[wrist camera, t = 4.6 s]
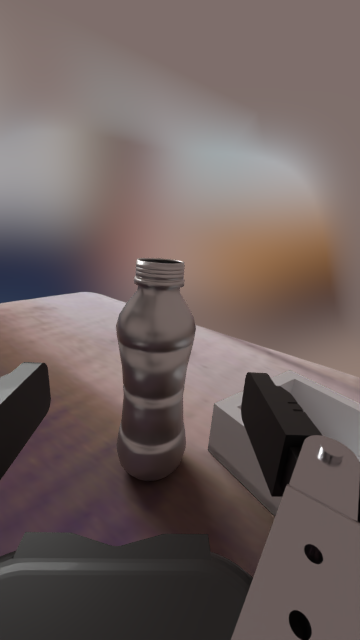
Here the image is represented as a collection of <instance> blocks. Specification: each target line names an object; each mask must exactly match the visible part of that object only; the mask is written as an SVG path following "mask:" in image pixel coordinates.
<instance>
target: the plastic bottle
mask: <svg viewBox="0 0 360 640" xmlns="http://www.w3.org/2000/svg"><path fill="white" fill-rule="evenodd" d="M184 266H185V265H184V262H182V261H178V260H171V259H160V258H139V259H137V262H136V276H135V277H134V283H135V284H136V285H138V289H137V291H136V293H135V294H134V295H133V296H132V297H131V299H130V300H129V301H128V302H127V303H126V305H125V306H124V308H123V309H122V311H121V312H120V314H119V317H118V321H117V324H116V330H117V338H118V345H119V351H120V357H121V363H122V373H123V384H124V385H123V390H124V399H123V410H122V420H121V424H120V428H119V433H118V439H117V452H118V456H119V460H120V463H121V465H122V467H123V468H124V470H126V471H127V472H128V473H129V474H130V475H132V476H133V477H135V478H137V479H140V480H144V481H155V480H159V479H162V478H164V477H166V476H168V475H169V474H171V473H172V472H173V471H174V470H175V469H176V468H177V467H178V466H179V464H180V463H181V460H182V457H183V454H184V451H185V447H186V437H185V428H184V422H183V392H184V384H185V378H186V371H187V366H188V362H189V358H190V354H191V350H192V345H193V341H194V336H195V330H196V326H195V322H194V317H193V315H192V313H191V311H190V309H189V307H188V305H187V304H186V302H185V300H184V299H183V297H182V296H181V294H180V287H183V286H184V279H183V277H184Z"/></svg>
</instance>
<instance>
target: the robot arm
mask: <svg viewBox="0 0 360 640" xmlns="http://www.w3.org/2000/svg"><path fill="white" fill-rule="evenodd" d="M50 401H51V396H50V386H49V376H48V367H47V365H46V364H45V363H32V362H24V363H22V364H21V365H20V366H18V367H17V368H16V369H15V370H14V371H13V372H11V373H10V374H7V375H5V376H3V377H1V378H0V480H1V478H2V477H3V475H4V474H5V473H6V471H7V470H8V468H9V467H10V465H11V464H12V463H13V461H14V460H15V458H16V457H17V455H18V454H19V453H20V451H21V450H22V448H23V447H24V446H25V444H26V443H27V441H28V440H29V438H30V437H31V436H32V434H33V433H34V431H35V430H36V428H37V427H38V426H39V424H40V423H41V421H42V420H43V418H44V417H45V416H46V414H47V412H48V410H49V407H50ZM241 417H242V421H243V424H244V426H245V429H246V432H247V434H248V437H249V439H250V442H251V445H252V447H253V450H254V452H255V455H256V457H257V460H258V463H259V465H260V468H261V470H262V473H263V476H264V478H265V481H266V483H267V486H268V489H269V491H270V494H271V496H272V497H282V499H281V502H280V505H279V508H278V510H277V513H276V516H275V519H274V522H273V524H272V527H271V530H270V533H269V535H268V538H267V541H266V544H265V546H264V549H263V552H262V555H261V558H260V560H259V563H258V566H257V569H256V571H255V574H254V577H253V578H252V577H251V576H250V575H249V574H248V573H247V572H245V571H244V570H243V569H242V568H241V567H239V566H238V565H236V564H235V563H233V562H232V561H230V560H229V559H227V558H225V557H223V556H220V555H218V554H216V553H213V552H210V546H209V538H208V534H162V535H158V536H155V537H151V538H148V539H144V540H140V541H137V542H133V543H129V544H126V545H122V546H110V545H107V544H104V543H101V542H98V541H95V540H92V539H89V538H86V537H83V536H80V535H77V534H74V533H47V532H25V534H24V536H23V538H22V540H21V542H20V544H19V546H18V548H17V550H16V551H14V552H11V553H8V554H5V555H3V556H0V640H360V462H359V460H358V458H357V456H356V455H355V454H354V453H353V452H352V451H351V450H350V449H349V448H348V447H347V446H345V445H344V444H342V443H340V442H338V441H336V440H334V439H332V438H329V437H326V436H323V435H322V434H321V432H320V431H319V430H318V428H317V427H316V426H315V425H314V423H313V422H312V421H311V419H310V418H309V417H308V415H307V414H306V413H305V412H303V409H302V407H301V406H300V405H299V404H298V402H297V401H296V400H295V398H294V397H293V396H292V394H291V393H289V392H288V391H287V390H285V389H284V388H282V387H281V386H276V385H275V384H274V382H273V381H272V379H271V378H270V377H269V375H268V374H267V373H251V372H248V373H247V375H246V378H245V385H244V391H243V397H242V403H241Z"/></svg>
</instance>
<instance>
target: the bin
mask: <svg viewBox="0 0 360 640" xmlns="http://www.w3.org/2000/svg"><path fill="white" fill-rule="evenodd" d="M271 379H272V381H273V382H274V384H275V385H276V386H281V387H282V388H284V389H285V390H287V391H288V392H289V393H291V394H292V396H293V397H294V398H295V400H296V401H297V402H298V404H299V405H300V406H301V407H302V409H303V412H305V413H306V414H307V415H308V417H309V418H310V419H311V421H312V422H313V423H314V425H315V426H316V427H317V428H318V430H319V431H320V432H321V434H322V435H323V436H326V437H329V438H332V439H334V440H336V441H338V442H340V443H342V444H344V445H345V446H347V447H348V448H349V449H350V450H351V451H352V452H353V453H354V454H355V455H356V456H357V458H358V460H359V462H360V403H358V402H356V401H354V400H352V399H350V398H347V397H345V396H343V395H341V394H339V393H337V392H335V391H333V390H331V389H329V388H327V387H325V386H323V385H320V384H318V383H316V382H314V381H312V380H310V379H308V378H306V377H304V376H302V375H300V374H298V373H296V372H293V371H291V370H288V371H286V372H284V373H282V374H279V375H277V376H275V377H273V378H271ZM243 391H244V390H243ZM243 391H241V392H239V393H237V394H234V395H232V396H230V397H228V398H225V399H223V400H221V401H219V402H216V403H214V408H213V416H212V423H211V430H210V437H209V444H208V451H209V452H210V453H211V454H212V455H213V456H214V457H215V458H216V459H217V460H218V461H219V462H220V463H221V464H222V465H223V466H224V467H225V468H226V469H227V470H228V471H229V472H230V473H231V474H232V475H233V476H234V477H236V478H237V479H238V480H239V481H240V482H241V483H242V484H243V485H244V486H245V487H246V488H247V489H248V490H249V491H250V492H251V493H252V494H253V495H254V496H255V497H256V498H257V499H258V500H259V501H260V502H261V503H262V504H263V505H264V506H265V507H266V508H267V509H268V510H269V511H270V512H271V513H272V514H273V515H274V516H276V513H277V510H278V508H279V505H280V502H281V499H282V497H272V496H271V494H270V491H269V489H268V486H267V483H266V481H265V478H264V476H263V473H262V470H261V468H260V465H259V463H258V460H257V457H256V455H255V452H254V450H253V447H252V445H251V442H250V439H249V437H248V434H247V432H246V429H245V426H244V424H243V421H242V417H241V403H242V397H243Z"/></svg>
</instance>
